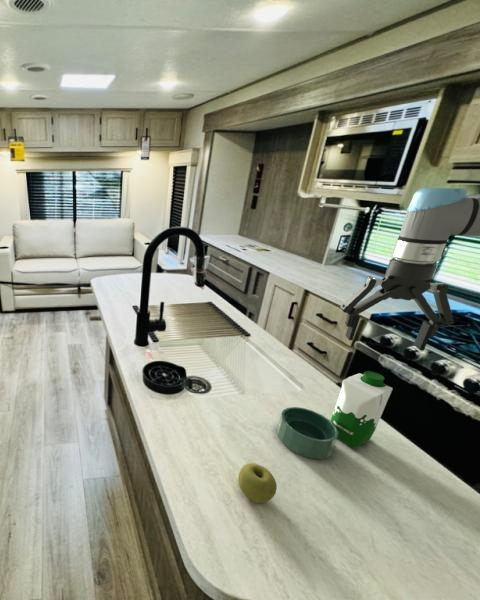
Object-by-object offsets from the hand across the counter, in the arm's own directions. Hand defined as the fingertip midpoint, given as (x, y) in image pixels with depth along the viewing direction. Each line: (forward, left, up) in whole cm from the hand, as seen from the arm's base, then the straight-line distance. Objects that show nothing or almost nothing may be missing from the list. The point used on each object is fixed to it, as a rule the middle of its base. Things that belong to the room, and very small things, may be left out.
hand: (382, 342), depth 78 cm
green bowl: (+12, +7, -30) cm, 33 cm away
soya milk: (0, 0, -31) cm, 31 cm away
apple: (+26, +30, -31) cm, 50 cm away
